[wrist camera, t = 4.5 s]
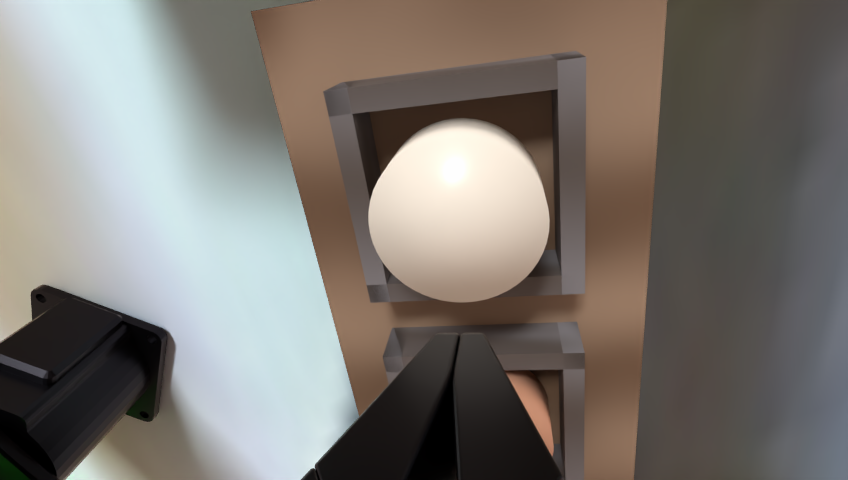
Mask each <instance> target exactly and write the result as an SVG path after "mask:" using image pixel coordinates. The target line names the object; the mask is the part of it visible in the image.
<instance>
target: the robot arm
mask: <svg viewBox="0 0 848 480" xmlns="http://www.w3.org/2000/svg"><path fill="white" fill-rule="evenodd" d="M31 307H32V321H31V322H29V323H28V324H26V325H25V326H23V327H22V328H20V329H19V330H17V331H16V332H14V333H13V334H12V335H10V336H9V337H7V338H6V339H4V340H3V341H1V342H0V480H66V478H67V477H68V476H69V475H70V474H71V473H72V472H73V471H74V470H75V469H76V467H77V466H78V465H79V464H80V463H81V462H82V461H83V460H84V459H85V458H86V456H87V455H88V454H89V453H90V452H91V451H92V450H93V449H94V448H95V447H96V445H97V444H98V443H99V442H100V441H101V440H102V439H103V438H104V437H105V436H106V434H107V433H108V432H109V431H110V430H111V429H112V428H113V427H114V426H115V425H116V423H117V422H118V421H119V420H120V419H121V418H122V417H123V416H124V415H125V414H126V415H129V416H132V417H134V418H137V419H140V420H143V421H146V422H149V421H152V420H153V419H154V418H155V416H156V415H157V414H158V409H159V401H160V393H161V384H162V376H163V367H164V359H165V351H166V342H167V335H166V333H165V331H164V330H162V329H161V328H159V327H157V326H154V325H152V324H149V323H146V322H144V321H141V320H138V319H136V318H133V317H130V316H128V315H125V314H122V313H120V312H117V311H114V310H112V309H109V308H106V307H104V306H101V305H98V304H96V303H93V302H90V301H88V300H85V299H82V298H80V297H77V296H74V295H72V294H69V293H66V292H64V291H61V290H58V289H55V288H53V287H50V286H47V285H40V286H39V287H37V288H36V289H34V290H33V291H32V292H31ZM315 469H316V470H315ZM315 469H314V468H312V469H310V470H309V471H308V473H307V474H306V475H305V476H304V477H303V478H302V479H301V480H564V478H563V475H562V474H561V472H560V470H559V468H558V466H557V464H556V463H555V461H554V459H553V457H552V455H551V454H550V452H549V450H548V448H547V446H546V445H545V443H544V441H543V439H542V437H541V435H540V434H539V432H538V430H537V428H536V426H535V425H534V423H533V421H532V419H531V417H530V415H529V414H528V412H527V410H526V408H525V406H524V405H523V403H522V401H521V399H520V397H519V396H518V394H517V392H516V390H515V388H514V386H513V385H512V383H511V381H510V379H509V377H508V376H507V374H506V372H505V370H504V368H503V366H502V365H501V363H500V361H499V359H498V357H497V356H496V354H495V352H494V350H493V348H492V346H491V345H490V343H489V341H488V339H487V337H486V336H485V335H484V334H483V333H463V334H461V335H460V336H459V334H458V333H437V334H435V335H434V336H433V337H432V338H431V339H430V340H429V342H428V343H427V344H426V345H425V346H424V347H423V348H422V349H421V350H420V351H419V352H418V353H417V355H416V356H415V357H414V358H413V359H412V360H411V361H410V362H409V363H408V364H407V365H406V367H405V368H404V369H403V370H402V371H401V372H400V373H399V374H398V375H397V376H396V377H395V378H394V380H393V381H392V382H391V383H390V384H389V385H388V386H387V387H386V388H385V389H384V390H383V391H382V393H381V394H380V395H379V396H378V397H377V398H376V399H375V400H374V401H373V402H372V403H371V404H370V406H369V407H368V408H367V409H366V410H365V411H364V412H363V413H362V414H361V415H360V416H359V418H358V419H357V420H356V421H355V422H354V423H353V424H352V425H351V426H350V427H349V428H348V429H347V431H346V432H345V433H344V434H343V435H342V436H341V437H340V438H339V439H338V440H337V441H336V442H335V444H334V445H333V446H332V447H331V448H330V449H329V450H328V451H327V452H326V453H325V454H324V455H323V457H322V458H321V459H320V460H319V461H318V462H317V463H316V464H315Z"/></svg>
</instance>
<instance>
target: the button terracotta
mask: <svg viewBox="0 0 848 480" xmlns="http://www.w3.org/2000/svg"><path fill="white" fill-rule="evenodd" d="M505 372H506V374H507V376H508V377H509V379H510V381H511V383H512V385H513V386H514V388H515V390H516V392H517V394H518V396H519V397H520V399H521V401H522V403H523V405H524V406H525V408H526V410H527V412H528V414H529V415H530V417H531V419H532V421H533V423H534V425H535V426H536V428H537V430H538V432H539V434H540V435H541V437H542V439H543V441H544V443H545V445H546V446H547V448H548V450H549V452H550V454H551V455H552V456H553V451H554V445H553V437H552V429H551V421H550V413H549V405H548V397H547V394H546V391H545V389H544V387H543V385H542V383H541V382H540V381H539V379H538V378H537V377H536V376H535V375H534V374H533V373H531V372H530V371H529V370H505Z"/></svg>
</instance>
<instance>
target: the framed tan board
mask: <svg viewBox="0 0 848 480" xmlns="http://www.w3.org/2000/svg"><path fill="white" fill-rule="evenodd" d="M666 10H667V0H314V1H309V2H303V3H297V4H291V5H285V6H279V7H273V8H267V9H261V10H256V11H251V14H252V18H253V21H254V25H255V29H256V33H257V36H258V40H259V44H260V48H261V51H262V55H263V59H264V62H265V66H266V70H267V74H268V77H269V81H270V85H271V89H272V92H273V96H274V100H275V104H276V107H277V111H278V115H279V118H280V122H281V126H282V130H283V133H284V137H285V141H286V145H287V148H288V152H289V156H290V159H291V163H292V167H293V171H294V174H295V178H296V182H297V186H298V189H299V193H300V197H301V201H302V204H303V208H304V212H305V215H306V219H307V223H308V227H309V230H310V234H311V238H312V242H313V245H314V249H315V253H316V256H317V260H318V264H319V268H320V271H321V275H322V279H323V283H324V286H325V290H326V294H327V298H328V301H329V305H330V309H331V312H332V316H333V320H334V324H335V327H336V331H337V335H338V339H339V342H340V346H341V350H342V353H343V357H344V361H345V365H346V368H347V372H348V376H349V380H350V383H351V387H352V391H353V394H354V398H355V402H356V406H357V409H358V413H359V416H360V415H361V414H362V413H363V412H364V411H365V410H366V409H367V408H368V407H369V406H370V404H371V403H372V402H373V401H374V400H375V399H376V398H377V397H378V396H379V395H380V394H381V393H382V391H383V390H384V389H385V388H386V387H387V386H388V385H389V384H390V383H391V382H392V381H393V380H394V378H395V377H396V376H397V375H398V374H399V373H400V372H401V371H402V370H403V369H404V368H405V367H406V365H407V364H408V363H409V362H410V361H411V360H412V359H413V358H414V357H415V356H416V355H417V353H418V352H419V351H420V350H421V349H422V348H423V347H424V346H425V345H426V344H427V343H428V342H429V340H430V339H431V338H432V337H433V336H434V335H435V334H437V333H458V334H459V336H460V335H461V334H463V333H483V334H484V335H485V336H486V337H487V339H488V341H489V343H490V345H491V346H492V348H493V350H494V352H495V354H496V356H497V357H498V359H499V361H500V363H501V365H502V366H503V368H504V370H529V371H530V372H531V373H533V374H534V375H535V376H536V377H537V378H538V379H539V381H540V382H541V383H542V385H543V387H544V389H545V391H546V394H547V397H548V405H549V413H550V421H551V429H552V437H553V445H554V451H553V456H552V457H553V459H554V461H555V463H556V464H557V466H558V468H559V470H560V472H561V474H562V475H563V478H564V480H634V468H635V453H636V439H637V425H638V410H639V396H640V382H641V367H642V353H643V339H644V324H645V310H646V296H647V282H648V267H649V253H650V239H651V224H652V210H653V196H654V181H655V167H656V153H657V139H658V124H659V110H660V96H661V81H662V67H663V53H664V38H665V24H666ZM454 118H470V119H478V120H482V121H486V122H489V123H492V124H495V125H497V126H499V127H501V128H503V129H505V130H507V131H508V132H509V133H511V134H512V135H514V136H515V137H516V138H517V139H518V140H519V141H520V142H521V143H522V144H523V145H524V146H525V147H526V148H527V150H528V151H529V152H530V154H531V156H532V157H533V159H534V161H535V163H536V165H537V167H538V170H539V173H540V177H541V181H542V185H543V189H544V193H545V197H546V201H547V205H548V210H549V219H550V222H549V234H548V239H547V243H546V246H545V249H544V252H543V254H542V256H541V258H540V260H539V262H538V263H537V264H536V266H535V267H534V269H533V270H532V271H531V272H530V273H529V274H528V276H527V277H526V278H525V279H523V280H522V281H521V282H520V283H519V284H517V285H516V286H514V287H513V288H511V289H510V290H508V291H506V292H504V293H502V294H500V295H498V296H495V297H492V298H489V299H485V300H481V301H475V302H449V301H442V300H438V299H434V298H431V297H428V296H425V295H423V294H421V293H419V292H417V291H414V290H413V289H411V288H410V287H408V286H406V285H405V284H403V283H402V282H401V281H400V280H398V279H397V278H396V277H395V276H394V275H393V274H392V273H391V272H390V271H389V270H388V268H387V267H386V266H385V265H384V263H383V262H382V260H381V259H380V257H379V255H378V254H377V252H376V249H375V247H374V245H373V242H372V238H371V235H370V230H369V223H368V212H369V205H370V199H371V196H372V193H373V190H374V188H375V185H376V183H377V181H378V179H379V178H380V176H381V175H382V173H383V172H384V170H385V169H386V167H387V166H388V164H389V163H390V161H391V160H392V158H393V157H394V156H395V154H396V153H397V151H398V150H399V148H400V147H401V146H402V145H403V144H404V143H405V141H406V140H408V139H409V138H410V137H411V136H412V135H413V134H415V133H416V132H418V131H419V130H421V129H422V128H424V127H426V126H428V125H431V124H433V123H436V122H439V121H442V120H448V119H454Z"/></svg>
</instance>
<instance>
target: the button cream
mask: <svg viewBox="0 0 848 480" xmlns="http://www.w3.org/2000/svg"><path fill="white" fill-rule="evenodd" d="M549 222H550V219H549V210H548V205H547V201H546V197H545V193H544V189H543V185H542V181H541V177H540V173H539V170H538V167H537V165H536V163H535V161H534V159H533V157H532V156H531V154H530V152H529V151H528V150H527V148H526V147H525V146H524V145H523V144H522V143H521V142H520V141H519V140H518V139H517V138H516V137H515V136H514V135H512V134H511V133H509V132H508V131H507V130H505V129H503V128H501V127H499V126H497V125H495V124H492V123H489V122H486V121H482V120H478V119H470V118H454V119H448V120H442V121H439V122H436V123H433V124H431V125H428V126H426V127H424V128H422V129H421V130H419V131H418V132H416V133H415V134H413V135H412V136H411V137H410V138H409V139H408V140H406V141H405V143H404V144H403V145H402V146H401V147H400V148H399V150H398V151H397V153H396V154H395V156H394V157H393V158H392V160H391V161H390V163H389V164H388V166H387V167H386V169H385V170H384V172H383V173H382V175H381V176H380V178H379V179H378V181H377V183H376V185H375V188H374V190H373V193H372V196H371V199H370V205H369V212H368V223H369V230H370V235H371V238H372V242H373V245H374V247H375V249H376V252H377V254H378V255H379V257H380V259H381V260H382V262H383V263H384V265H385V266H386V267H387V268H388V270H389V271H390V272H391V273H392V274H393V275H394V276H395V277H396V278H397V279H398V280H400V281H401V282H402V283H403V284H405V285H406V286H408V287H410V288H411V289H413V290H414V291H417V292H419V293H421V294H423V295H425V296H428V297H431V298H434V299H438V300H442V301H449V302H475V301H481V300H485V299H489V298H492V297H495V296H498V295H500V294H502V293H504V292H506V291H508V290H510V289H511V288H513V287H514V286H516V285H517V284H519V283H520V282H521V281H522V280H523V279H525V278H526V277H527V276H528V274H529V273H530V272H531V271H532V270H533V269H534V267H535V266H536V264H537V263H538V262H539V260H540V258H541V256H542V254H543V252H544V249H545V246H546V243H547V239H548V234H549Z"/></svg>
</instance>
